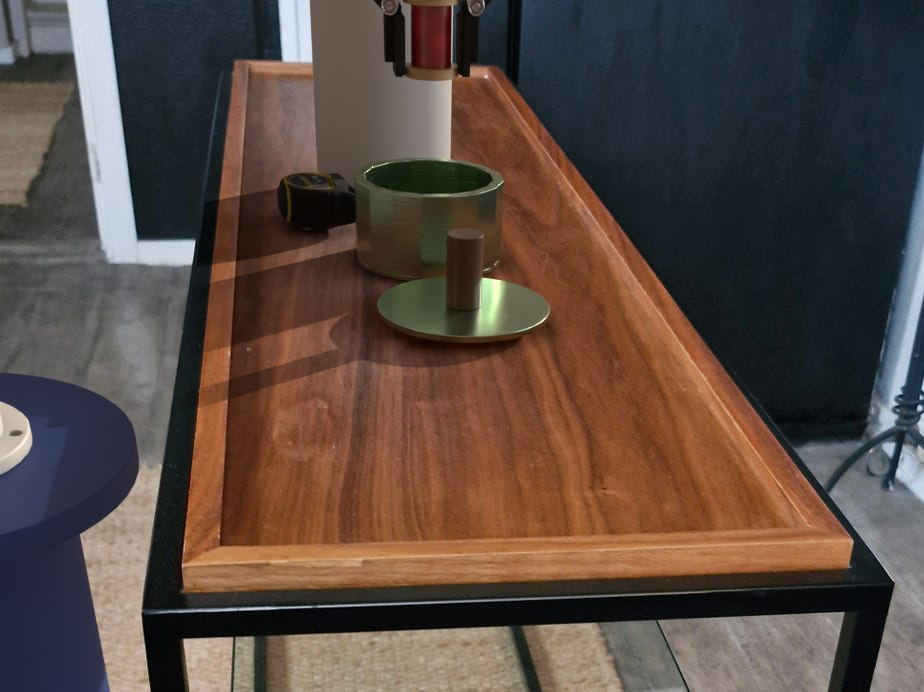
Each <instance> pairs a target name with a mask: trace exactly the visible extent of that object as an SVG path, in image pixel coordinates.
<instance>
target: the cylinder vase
mask: <svg viewBox="0 0 924 692" xmlns="http://www.w3.org/2000/svg"><path fill="white" fill-rule="evenodd" d="M399 2H400V4H401V10H402V13H403V15H404V17H405V63H406V62H409V61H411V4H407V3H404V2H403V0H399ZM309 14H310V15H309V17H310V18H309V19H310V39H311V60H312V62H311V63H312V83H313V85H312V87H313V105H314V127H315V129H314V130H315V149H316V171H317V172H316V173H320V174H331V173H338V174H340V175H341V176H342V177H343V178H344V179H345V180H346V182H347V183H348V184H350V185H351V186H352V187H353V188H354V189H355V175H354V174H355V172H356V171H358V170H359V169H360V168H362V167H363V166H365V165H369V164H372V163H376V162H379V161H384V160H392V159H402V158H443V159H451V154H452V153H451V151H452V148H451V147H452V146H451V145H452V143H451V142H452V141H451V140H452V99H453V98H452V96H453V95H452V94H453V93H452V90H453V87H452V86H453V79H452V80H446V81H423V80H415V79H410V78H407V77H405V76H404V75H403V77H396V76H395V74H394V71H393V62H385V60H384V22H383V11H382V10H381V8H380V7H379V6H378V5H377V4H376V3H375V2H374V0H309ZM453 30H454V5H453V6H452V36H451V62H453V41H454V40H453V36H454V31H453Z"/></svg>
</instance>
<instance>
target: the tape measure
mask: <svg viewBox="0 0 924 692" xmlns="http://www.w3.org/2000/svg"><path fill="white" fill-rule="evenodd" d="M276 203H277V210H278V212H279V215H280V216H281V218H282V219H283V220H284V221H285V222H287V223H289V224H291V225H292V226H293V225H294V226H296V227H300V228H302V229H303V230H305V231H309V230H312V229H315V230H316V229H317V230H318V229H319V230H320V229H321V230H327V229H333V228H336V227H337V228H338V227H342V226H348V225H351V224H356V210H355V189H354V188H353V187H352V186H351V185H350V184H348V183H347V182H346V180H345V179H344V178H343V177H342V176H341V175H340V174H338V173H331V174H320V173H317V172H306V171H305V172H296V173H292V174H288V175H285V176H284V177H282V178H281V179H280V181H279V184H278V186H277V192H276Z"/></svg>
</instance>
